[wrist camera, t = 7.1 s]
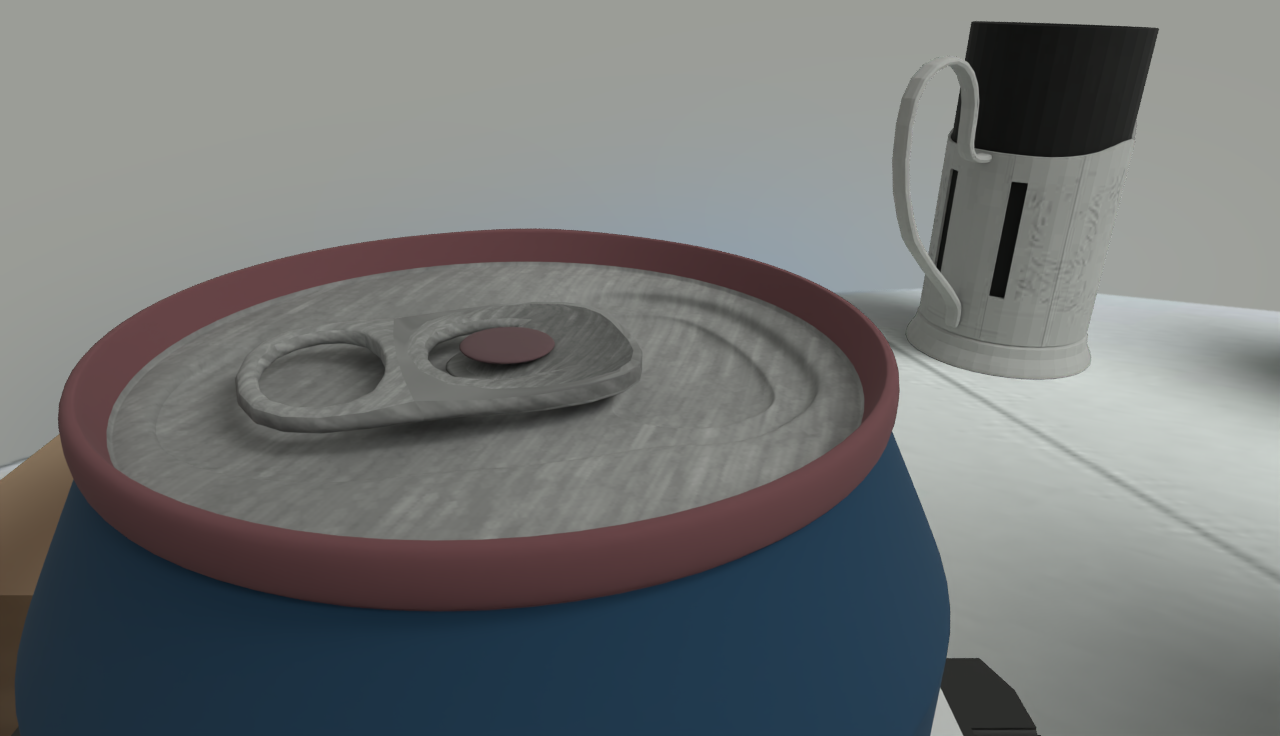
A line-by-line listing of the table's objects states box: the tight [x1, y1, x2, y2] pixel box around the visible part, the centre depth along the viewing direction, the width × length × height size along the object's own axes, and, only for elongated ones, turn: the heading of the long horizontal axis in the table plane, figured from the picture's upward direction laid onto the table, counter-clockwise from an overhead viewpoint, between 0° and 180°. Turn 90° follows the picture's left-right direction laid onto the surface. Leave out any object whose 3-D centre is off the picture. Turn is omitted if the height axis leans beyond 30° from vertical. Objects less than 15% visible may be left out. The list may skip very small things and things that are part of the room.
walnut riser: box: [0, 434, 73, 736], centre depth 23 cm, size 18×14×5 cm
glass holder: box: [892, 21, 1159, 379], centre depth 39 cm, size 9×14×15 cm, turn 125°
